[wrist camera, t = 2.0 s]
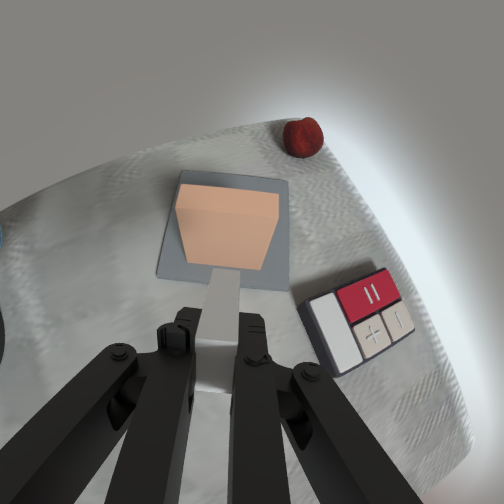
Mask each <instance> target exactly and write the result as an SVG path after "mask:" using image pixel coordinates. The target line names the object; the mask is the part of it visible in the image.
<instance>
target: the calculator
mask: <svg viewBox="0 0 504 504" xmlns="http://www.w3.org/2000/svg"><path fill="white" fill-rule="evenodd" d="M297 311H298V313H299V315H300V318H301V320H302V322H303V325H304V327H305V329H306V332H307V334H308V336H309V339H310V341H311V343H312V346H313V348H314V350H315V353H316V355H317V357H318V360H319V362H320V365H321V366H323V367H324V368H325V369H326V370H327V371H328V373H329V374H330V376H331V377H332V378H338V377H341V376H343V375H345V374H347V373H349V372H350V371H352V370H354V369H356V368H358V367H359V366H361V365H363V364H364V363H366V362H368V361H370V360H371V359H373V358H375V357H376V356H378V355H379V354H381V353H383V352H384V351H386V350H387V349H389V348H391V347H392V346H394V345H395V344H397V343H398V342H400V341H401V340H403V339H404V338H406V337H407V336H409V335H410V334H411V333H413V332H414V331H415V328H414V325H413V322H412V320H411V318H410V315H409V313H408V311H407V309H406V307H405V304H404V302H403V301H402V299H401V296H400V294H399V292H398V289H397V287H396V285H395V283H394V281H393V279H392V277H391V275H390V273H389V271H388V270H387V269H386V268H382V269H379V270H377V271H375V272H373V273H370V274H368V275H366V276H363V277H361V278H358V279H356V280H354V281H351V282H349V283H346V284H344V285H342V286H339V287H337V288H334V289H332V290H329V291H327V292H324V293H321V294H319V295H316V296H314V297H311V298H309V299H306V300H305V301H304V302H303V303H302V304H301V305H299V306H298V308H297Z"/></svg>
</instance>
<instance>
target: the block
mask: <svg viewBox="0 0 504 504" xmlns="http://www.w3.org/2000/svg"><path fill="white" fill-rule="evenodd" d="M175 210H176V215H177V219H178V224H179V228H180V233H181V237H182V242H183V246H184V250H185V254H186V259H187V263H196V264H206V265H215V266H225V267H234V268H244V269H254V270H260V269H261V267H262V264H263V261H264V258H265V256H266V253H267V250H268V247H269V244H270V241H271V239H272V236H273V233H274V230H275V227H276V225H277V222H278V219H279V194H276V193H268V192H260V191H251V190H242V189H233V188H223V187H212V186H201V185H189V184H181V187H180V190H179V194H178V198H177V202H176V206H175Z"/></svg>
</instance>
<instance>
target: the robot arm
mask: <svg viewBox="0 0 504 504" xmlns="http://www.w3.org/2000/svg"><path fill="white" fill-rule="evenodd" d="M2 243H3V233H2V229H1V225H0V248H1V246H2ZM239 294H240V271H237V270H227V269H217V268H213V271H212V275H211V279H210V282H209V286H208V290H207V294H206V297H205V301H204V305H203V309H197V308H189V307H184V308H182V309H181V310H180V311H178V313H177V315H176V318H175V320H174V323H167V324H164V325H162V326H160V327H159V328H158V329H157V340H158V350H157V351H155V352H151V353H137V352H136V350H135V349H134V347H132V346H131V345H129V344H125V343H115V344H111V345H109V346H108V347H106V348H105V349H104V350H103V351H101V352H100V353H99V354H98V355H97V356H96V357H95V358H94V359H93V360H92V361H91V362H90V363H89V364H87V365H86V366H85V367H84V368H83V369H82V370H81V371H80V372H79V373H78V374H77V375H76V376H75V377H74V378H73V379H72V380H70V381H69V382H68V383H67V384H66V385H65V386H64V387H63V388H62V389H61V390H60V391H59V392H58V393H57V394H56V395H55V396H54V397H53V398H52V399H51V400H50V401H49V402H48V403H47V404H45V405H44V406H43V407H42V408H41V409H40V410H39V411H38V412H37V413H36V414H35V415H34V416H33V417H32V418H31V419H30V420H29V421H28V422H27V423H26V424H25V425H24V426H23V427H22V428H21V429H20V430H19V431H18V432H17V433H16V434H15V435H14V436H13V437H12V438H11V439H10V440H9V441H8V442H7V443H6V445H5V446H4V447H3V448H2V449H1V450H0V504H74V503H75V501H76V500H77V498H78V497H79V496H80V494H81V493H82V492H83V490H84V489H85V487H86V486H87V485H88V483H89V482H90V480H91V479H92V478H93V476H94V475H95V473H96V472H97V471H98V469H99V468H100V467H101V465H102V464H103V462H104V461H105V460H106V458H107V457H108V455H109V454H110V453H111V451H112V450H113V448H114V447H115V446H116V444H117V443H118V441H119V440H120V439H121V437H122V436H123V435H124V433H125V432H126V430H127V429H128V430H127V433H126V436H125V439H124V442H123V445H122V448H121V451H120V454H119V457H118V460H117V463H116V466H115V469H114V473H113V476H112V479H111V482H110V486H109V489H108V493H107V496H106V500H105V503H104V504H178V501H179V493H180V486H181V479H182V472H183V465H184V459H185V452H186V446H187V439H188V433H189V427H190V421H191V415H192V409H193V403H194V388H195V390H200V391H209V392H218V393H229V394H232V398H231V407H230V436H229V463H228V495H227V504H291V502H290V494H289V485H288V477H287V469H286V461H285V453H284V445H283V437H282V429H281V424H282V426H283V428H284V430H285V432H286V434H287V437H288V439H289V441H290V443H291V445H292V447H293V449H294V452H295V454H296V456H297V458H298V460H299V462H300V464H301V466H302V468H303V470H304V472H305V474H306V476H307V478H308V480H309V482H310V484H311V486H312V488H313V490H314V492H315V494H316V496H317V498H318V500H319V502H320V504H423V503H422V501H421V500H420V499H419V497H418V496H417V494H416V493H415V492H414V490H413V489H412V488H411V486H410V485H409V484H408V482H407V481H406V479H405V478H404V477H403V475H402V474H401V473H400V471H399V470H398V469H397V467H396V466H395V464H394V463H393V462H392V460H391V459H390V458H389V456H388V455H387V453H386V452H385V451H384V449H383V448H382V447H381V445H380V444H379V442H378V441H377V440H376V438H375V437H374V436H373V434H372V433H371V431H370V430H369V429H368V427H367V426H366V424H365V423H364V422H363V420H362V419H361V417H360V416H359V415H358V413H357V412H356V411H355V409H354V408H353V406H352V405H351V404H350V402H349V401H348V399H347V398H346V397H345V395H344V394H343V392H342V391H341V390H340V388H339V387H338V385H337V384H336V383H335V381H334V380H333V378H332V377H331V376H330V374H329V373H328V371H327V370H326V369H325V368H324V367H323V366H321V365H319V364H316V363H312V362H303V363H299V364H297V365H296V366H295V367H294V369H291V368H287V367H284V366H281V365H278V364H277V363H275V362H274V361H273V360H272V358H271V356H270V355H269V354H268V347H267V339H266V331H265V322H264V319H263V318H262V317H261V316H260V314H254V313H243V312H239ZM3 351H4V326H3V320H2V316H1V313H0V363H1V360H2V356H3Z"/></svg>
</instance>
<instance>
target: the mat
mask: <svg viewBox="0 0 504 504" xmlns="http://www.w3.org/2000/svg"><path fill="white" fill-rule="evenodd" d="M181 184H189V185H201V186H212V187H223V188H233V189H242V190H251V191H260V192H268V193H276V194H279V219H278V222H277V225H276V227H275V230H274V233H273V236H272V239H271V241H270V244H269V247H268V250H267V253H266V256H265V258H264V261H263V264H262V267H261V269H260V270H254V269H244V268H234V267H225V266H215V265H206V264H196V263H187V259H186V254H185V250H184V246H183V242H182V237H181V233H180V228H179V224H178V219H177V215H176V210H175V206H176V202H177V198H178V194H179V190H180V187H181ZM213 268H217V269H227V270H237V271H240V287H242V288H252V289H263V290H275V291H287V292H288V290H289V186H288V181H283V180H275V179H268V178H260V177H251V176H242V175H233V174H223V173H212V172H200V171H187V170H182V172H181V176H180V179H179V183H178V186H177V190H176V194H175V197H174V201H173V205H172V209H171V213H170V217H169V221H168V225H167V229H166V234H165V238H164V242H163V247H162V251H161V256H160V261H159V265H158V270H157V275H156V276H157V278H161V279H169V280H177V281H185V282H194V283H203V284H209V282H210V279H211V275H212V271H213Z"/></svg>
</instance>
